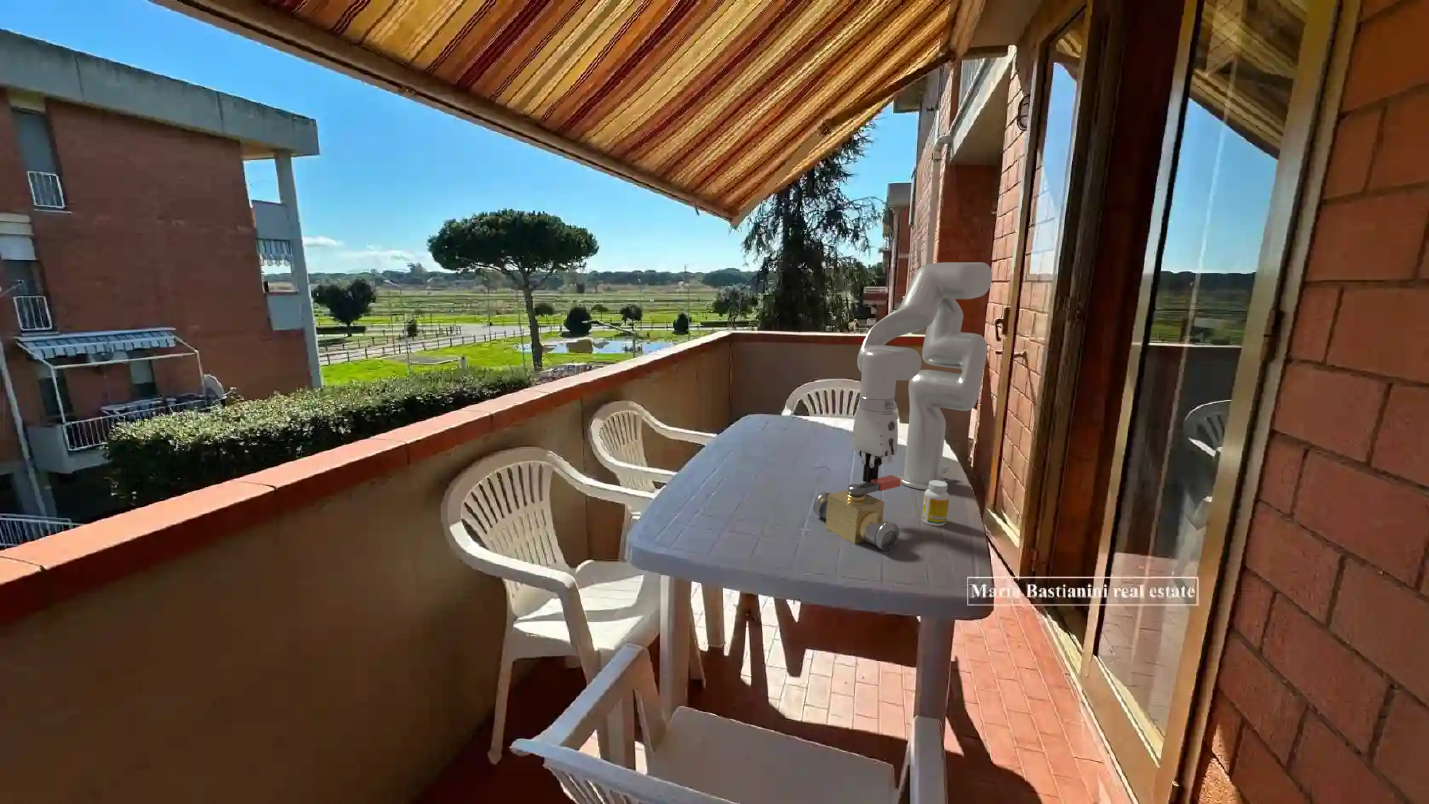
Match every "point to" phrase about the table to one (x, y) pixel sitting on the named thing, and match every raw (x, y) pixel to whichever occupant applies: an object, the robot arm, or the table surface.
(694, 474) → the table surface
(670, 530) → the table surface
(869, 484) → the lever
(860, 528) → the valve
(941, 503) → the supplement bottle
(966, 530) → the table surface
